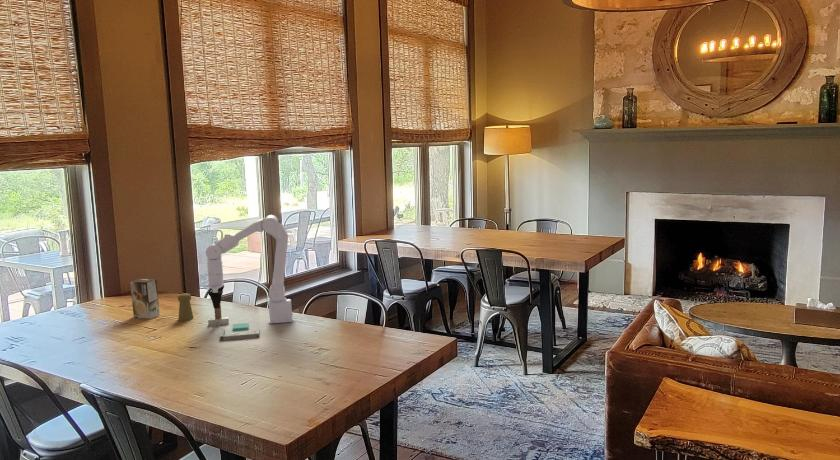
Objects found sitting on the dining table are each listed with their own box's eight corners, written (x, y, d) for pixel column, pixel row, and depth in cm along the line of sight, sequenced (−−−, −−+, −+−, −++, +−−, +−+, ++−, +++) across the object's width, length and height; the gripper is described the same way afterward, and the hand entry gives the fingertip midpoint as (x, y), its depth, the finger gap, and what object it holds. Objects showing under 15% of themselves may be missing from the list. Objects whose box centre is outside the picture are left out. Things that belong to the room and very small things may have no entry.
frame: (259, 329, 254) (259, 325, 253) (259, 337, 244) (259, 333, 244) (221, 332, 250) (221, 328, 250) (220, 340, 240) (220, 336, 240)
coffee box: (160, 315, 276) (157, 279, 273) (150, 319, 270) (147, 282, 267) (143, 313, 278) (140, 277, 276) (132, 317, 272) (129, 281, 270)
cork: (190, 320, 266) (188, 295, 265) (176, 321, 266) (174, 295, 265) (195, 316, 272) (193, 291, 271) (181, 316, 272) (179, 292, 271)
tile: (248, 326, 259) (248, 322, 259) (248, 330, 254) (248, 327, 253) (233, 327, 258) (233, 324, 258) (233, 332, 252) (232, 328, 252)
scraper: (229, 322, 263) (227, 304, 262) (228, 324, 261) (227, 305, 260) (208, 324, 261) (207, 305, 260) (208, 326, 259) (207, 307, 258)
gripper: (206, 270, 264) (208, 301, 266) (203, 277, 250) (205, 311, 252) (224, 269, 266) (226, 300, 268) (222, 276, 252) (224, 309, 254)
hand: (217, 305), depth 260 cm, fingers open, 7 cm apart
